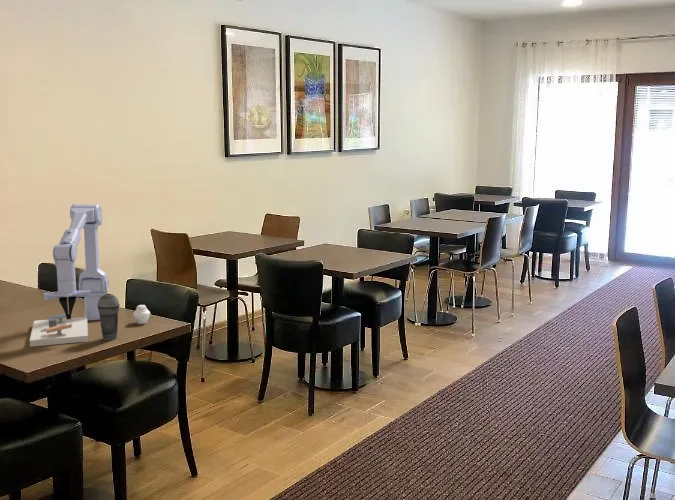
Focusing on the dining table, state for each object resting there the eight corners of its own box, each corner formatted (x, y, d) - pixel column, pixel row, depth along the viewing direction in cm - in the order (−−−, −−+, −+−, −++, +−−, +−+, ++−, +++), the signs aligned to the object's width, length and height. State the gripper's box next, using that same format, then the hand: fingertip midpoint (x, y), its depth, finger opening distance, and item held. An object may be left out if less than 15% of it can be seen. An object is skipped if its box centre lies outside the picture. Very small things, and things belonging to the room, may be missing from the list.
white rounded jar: (130, 322, 255) (129, 304, 253) (144, 319, 259) (144, 301, 258) (139, 326, 250) (138, 307, 249) (153, 322, 255) (153, 304, 254)
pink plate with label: (71, 325, 235) (71, 322, 235) (71, 327, 232) (71, 324, 232) (47, 331, 233) (46, 328, 232) (46, 333, 230) (46, 330, 230)
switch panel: (87, 321, 255) (86, 312, 255) (88, 341, 231) (87, 331, 231) (34, 326, 249) (33, 317, 249) (29, 346, 225) (29, 336, 225)
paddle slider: (57, 326, 241) (56, 318, 241) (56, 328, 238) (56, 320, 238) (49, 327, 240) (49, 318, 240) (49, 329, 237) (48, 320, 237)
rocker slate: (72, 313, 250) (71, 310, 250) (72, 315, 247) (71, 312, 247) (49, 319, 247) (48, 316, 247) (48, 321, 245) (47, 318, 244)
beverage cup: (108, 343, 230) (105, 284, 227) (94, 339, 234) (91, 281, 230) (125, 337, 236) (123, 280, 233) (111, 334, 240) (108, 278, 236)
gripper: (42, 283, 224) (45, 323, 227) (89, 280, 229) (91, 319, 232) (43, 279, 231) (46, 318, 233) (89, 276, 236) (91, 314, 238)
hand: (68, 318), depth 233 cm, fingers closed
